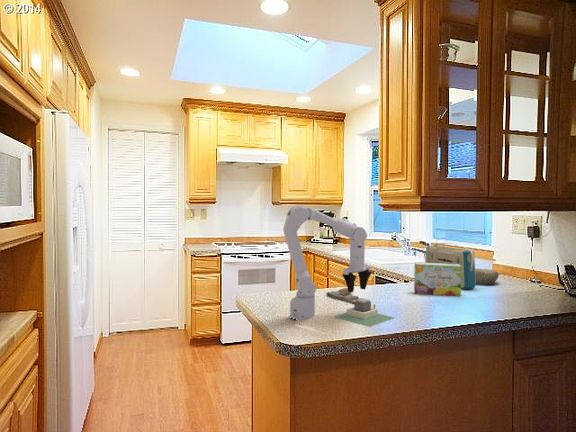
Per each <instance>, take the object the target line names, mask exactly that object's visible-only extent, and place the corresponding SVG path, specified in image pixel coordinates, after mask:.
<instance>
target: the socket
mask: <svg viewBox="0 0 576 432" xmlns="http://www.w3.org/2000/svg"><path fill="white" fill-rule="evenodd" d="M346 313H347V315H350V316H354V317H358V318H361V319H367V318H370V317H373V316H376V315H377V313H379V311H378V308H377V309H376V308H375V309H374V308H372V307H371V310H370V311H367V312H360V311H356V310H354V306H353V307H349V308H346Z"/></svg>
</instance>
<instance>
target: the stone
mask: <svg viewBox="0 0 576 432" xmlns="http://www.w3.org/2000/svg"><path fill="white" fill-rule="evenodd" d="M498 278H499V272H498V271H496V270H494V269H487V268H486V269H485V268H483V269H482V268H475V279H476V286H489V285H491V284H493V283H495V282H496V281H497V280H498Z"/></svg>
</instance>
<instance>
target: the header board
mask: <svg viewBox="0 0 576 432" xmlns="http://www.w3.org/2000/svg"><path fill="white" fill-rule="evenodd" d="M333 318H337V319H340V320H343V321H346V322H347V321H348V322H351V323H354V324H357V325H362V326H365V327H368V328H369V327H373V326H376V325H379V324H382V323H384V322H388V321H391V320H393V319H395V317H394V316H391V315H390V316H389V315H386V314H381V313H379V312H377V315H376V316H373V317H370V318H367V319H361V318H358V317H354V316H350V315H347V312H344V313H341V314H337V315H334V316H333Z"/></svg>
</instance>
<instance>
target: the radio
mask: <svg viewBox="0 0 576 432" xmlns="http://www.w3.org/2000/svg"><path fill="white" fill-rule="evenodd" d="M435 239H436V240H438V239H439V238H438V237H436V238H435ZM445 244H451V245H453V243H452V242H441V243H435V244H433V245H427V246H426V248H425V259H424V261H425V262H424V263H442V264H459V265H461V266H462V272H461V291H464V290H471V289H472V290H473V289H475V288H476V286H477V285H476V279H475V269H476V263H475V262H476V261H475V251H474V250H472V249H470V248H468V247H465V246H463V245H459V244H458V247H459V246H460V247H462V248H464V249H462V248H454V247H446V246H441V245H445ZM454 245H456V246H457V244H456V243H454Z"/></svg>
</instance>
